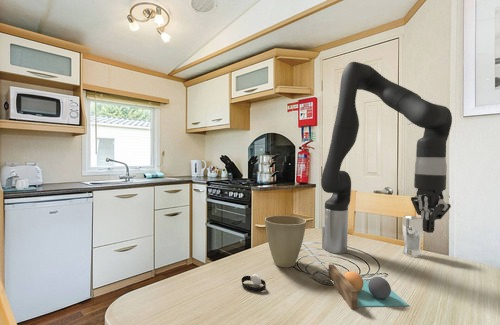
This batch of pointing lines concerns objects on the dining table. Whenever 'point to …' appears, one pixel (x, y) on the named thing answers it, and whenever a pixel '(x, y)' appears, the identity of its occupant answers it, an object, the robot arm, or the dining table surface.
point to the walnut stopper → (343, 287)
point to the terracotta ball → (354, 280)
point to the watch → (255, 280)
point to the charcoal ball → (379, 287)
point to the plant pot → (285, 238)
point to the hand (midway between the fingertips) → (428, 231)
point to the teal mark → (369, 300)
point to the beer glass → (412, 235)
